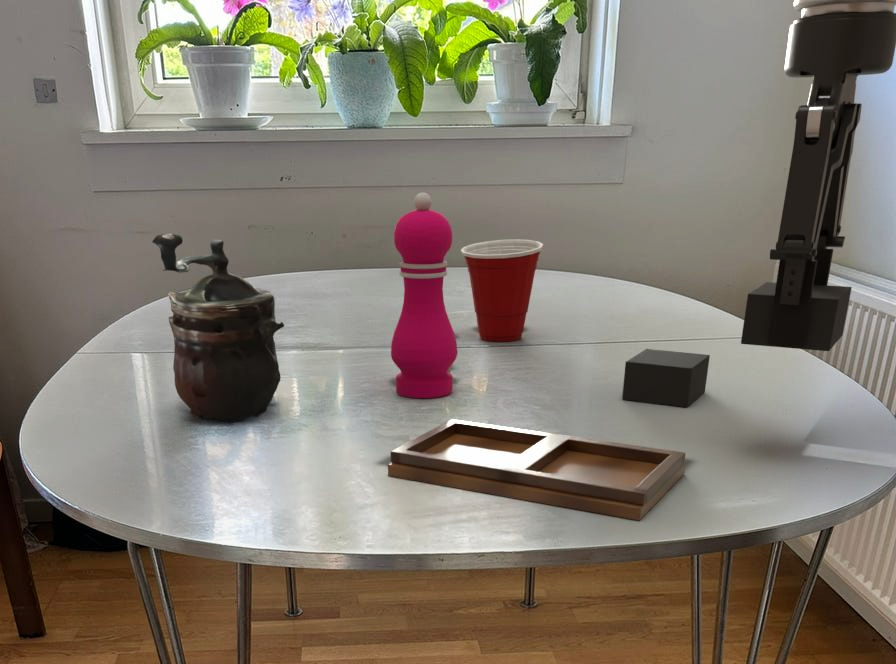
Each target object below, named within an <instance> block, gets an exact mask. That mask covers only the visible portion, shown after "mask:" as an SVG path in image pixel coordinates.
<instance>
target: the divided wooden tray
mask: <svg viewBox="0 0 896 664" xmlns="http://www.w3.org/2000/svg"><path fill="white" fill-rule="evenodd" d="M685 460H686V452H684V451H676V450H670V449H662V448H655V447H648V446H641V445H635V444H634V445H633V444H628V443H620V442H614V441H607V440H601V439H592V438H585V437H579V436H572V435H565V434H558V433H551V432H543V431H538V430H537V431H536V430H529V429H523V428H515V427H509V426H502V425H495V424H488V423H482V422H481V423H480V422H474V421H467V420H460V419H454V418H453V419H452V418H451V419H449V420H447V421H445V422H443V423H441V424H439V425H438V426H435V427H434V428H432V429H430V430H428V431H427V432H425V433H422V434H421V435H419V436H417V437H415V438H413V439H411V440H409V441H408V442H406V443H404V444H402V445H400V446H398V447H396V448H395V449H393V450H391V451H390V463H388V464H387V476H389V477H392V478H393V477H394V478H400V479H405V480H410V481H416V482H421V483H427V484H432V485H439V486H445V487H450V488H454V489H455V488H456V489H460V490H468V491H472V492H478V493H484V494H489V495H495V496H500V497H504V498H505V497H506V498H512V499H517V500H523V501H528V502H533V503H539V504H544V505H550V506H556V507H560V508H567V509H573V510H577V511H584V512H589V513H595V514H600V515H607V516H613V517H616V518H617V517H618V518H623V519H629V520H634V521H641V519H643V518H644V516H645V515H646V514H648V512H650V510H651V509H652V508H653V507H655V505H656V504H657V503H658V502H659V501H660V500H661V499H662V498H663V496H665V494H666V493H667V492H669V490H670V489H671V488H672V487H673V486H675V484H677V482H678V481H679V480H680V479H681V478H682V477H683V476H684V475H685V473H686V464H687V463H686V462H685Z"/></svg>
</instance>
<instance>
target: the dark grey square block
mask: <svg viewBox="0 0 896 664" xmlns="http://www.w3.org/2000/svg"><path fill="white" fill-rule="evenodd" d="M710 357H711V356H710V354H703V353H694V352H693V353H692V352H682V351H674V350H673V351H672V350H663V349H651V348H645V349H643V350H642V351H640V352H639V353H637V354H636V355H634V356H632V357H631V358H629V359H628V360H626V361H625V363H624V374H623V375H624V376H623V385H622V396H621V397H622V398H621V400H623V401H631V402H637V403H638V402H639V403H647V404H657V405H663V406H664V405H665V406H671V407H672V406H673V407H681V408H688V407H690V406H691V405H692V404H693V403H694V402H695V401H697V399H699V398H700V397H701V396H702V395H703V394H705V393H706V387H707V378H708V373H709V365H710Z"/></svg>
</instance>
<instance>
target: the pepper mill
mask: <svg viewBox="0 0 896 664" xmlns="http://www.w3.org/2000/svg"><path fill="white" fill-rule="evenodd" d="M432 201H433V200H432V198H431V196H430V194H429V193H426V192H419V193H418V194H416V196H415V197H414V201H413V205H414V207H415V209H414V210H411V211H409V212H407V213H405V214H403V215H402V216H401V217H400V218H399V219H398V221H397V223H396V225H395V228H394V232H393V242H394V244H393V245H394V247H395V249H396V250H397V252H398V253H399V254H400V256H401V258H402V260H401V261H399V267H400V271H399V276H401V278H402V277H403V289H404V291H403V303H402V308H401V312H400V315H399V318H398V321H397V324H396V326H395V328H394V332H393V335H392V339H391V343H390V344H391V345H390V347H391V348H390V357H391V360H392V362H393V363H394V365H395V366H396V367H397V369H399V371H400V372H399V373H397V374H396V376H395V391H396V393H397V394H398V395H400V396H402V397H404V398H411V399H437V398H441V397H446V396H448V395H450V394H451V393H452V392H453V387H454V386H453V383H454V381H453V378H454V377H453V374H452V373H451V372H450V373H449V372H447V371H448V369H449V368H450V369H451V366H452V365H453V364H454V362H455V361H456V360H457V357H458V343H457V338H456V334H455V331H454V328H453V326H452V324H451V321H450V319H449V316H448V313H447V310H446V305H445V299H444V289H443V288H444V277H445V276H447V275H448V271H447V266H448V262H447V260H445V256H446V255H447V254H448V252H449V251H450V249H451V247H452V244H453V230H452V226H451V223H450V222H449V220H448V219H447V218H446V216H444V215H443V214H442V213H440V212H438V211H436V210H433V209H431V207H432V203H433V202H432Z"/></svg>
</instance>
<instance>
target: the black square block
mask: <svg viewBox="0 0 896 664" xmlns="http://www.w3.org/2000/svg"><path fill="white" fill-rule="evenodd" d="M775 289H776V282H771V281H769V282H768V281H766V282H764V283H763V284H761V285H760V286H758V287H756V288H754V289H753V290H752V291H750V292H748V294H747V297H746V303H745V304H746V305H745V311H744V318H743V326H742V333H741V338H740V339H741V340H740V344H741V345H749V346H762V347H772V348H773V347H774V348H784V349H795V350H796V349H797V350H807V351H808V350H809V351H818V352H819V351H820V352H830V351H831V349H833V347H834V346H835V345H836V343H838V342H839V340H840V339H841V338H842V337H843V335H844V329H845V325H846V324H845V323H846V319H847V314H848V311H849V310H848V308H849V304H850V299H851V293H852V289H853V288H852V286H846V285H845V286H843V285H828V284H827V285H813V292H812V298H811V303H810V309H809V316H808V322H807V328H806V334H805V340H804V346H803V347H791V346H777V345H767V344H768V337H769V330H770V323H771V316H772V310H773V303H774V296H775Z"/></svg>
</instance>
